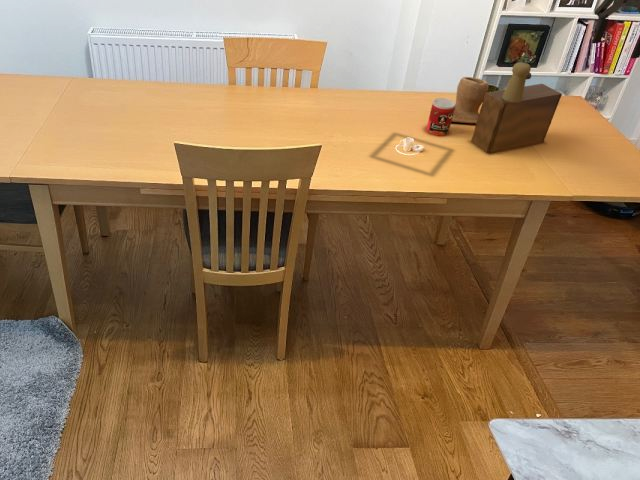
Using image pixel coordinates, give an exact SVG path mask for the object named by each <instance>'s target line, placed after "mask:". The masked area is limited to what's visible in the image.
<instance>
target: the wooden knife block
mask: <svg viewBox="0 0 640 480" xmlns="http://www.w3.org/2000/svg"><path fill="white" fill-rule="evenodd" d="M511 77H512V75H510V77H509V80H510V79H511ZM531 78H532V73H531V72H530V73H529V74H528V75H527V76H526V80H530V79H531ZM544 84H545V83H537V84H532V85H525V86H524V91H523V96H522V101H521V102H509V101H506V100H504V99H503V98H502V96H503V94H504V92H505V89H500V90H494V91H488V92H487V93H485V97H484V100H483V102H482V104H481V106H480V110H479V112H478V113H479V117H478V120H477V123H475V127H474V130H473V134H472V137H471V140H470V143H471V144H473V145H474V146H476V147H477V148H478V149H480V150H481V151H483V152H485V153H486V154H487V155H491V154H495V153H500V152H505V151H510V150H515V149H519V148H525V147H529V146H535V145H540V144H543V143H544V142H545V139H546V136H547V134H548V132H549V129H550V126H551V124H552V122H553V119H554V117H555V114H556V110H557V108H558V106H559V103H560V100H561V98H562V95H563V93H561V91H557V90H556V89H554V88H552V87H550V86H548V85H546V84H545V85H544Z"/></svg>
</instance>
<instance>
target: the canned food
mask: <svg viewBox="0 0 640 480" xmlns="http://www.w3.org/2000/svg"><path fill="white" fill-rule="evenodd" d="M455 105H456V101H454V100H452V99H449V98H445V97H439V98H438V97H437V98H435V99H433V101H432V104H431V108H430V112H429V116H428V120H427V125H426V132H427V133H428V134H429V135H432V136H435V137H444V136H447V135H448V134H449V131H450V128H451V124H452V122H451V121H452V117H453V113H454V110H455Z"/></svg>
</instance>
